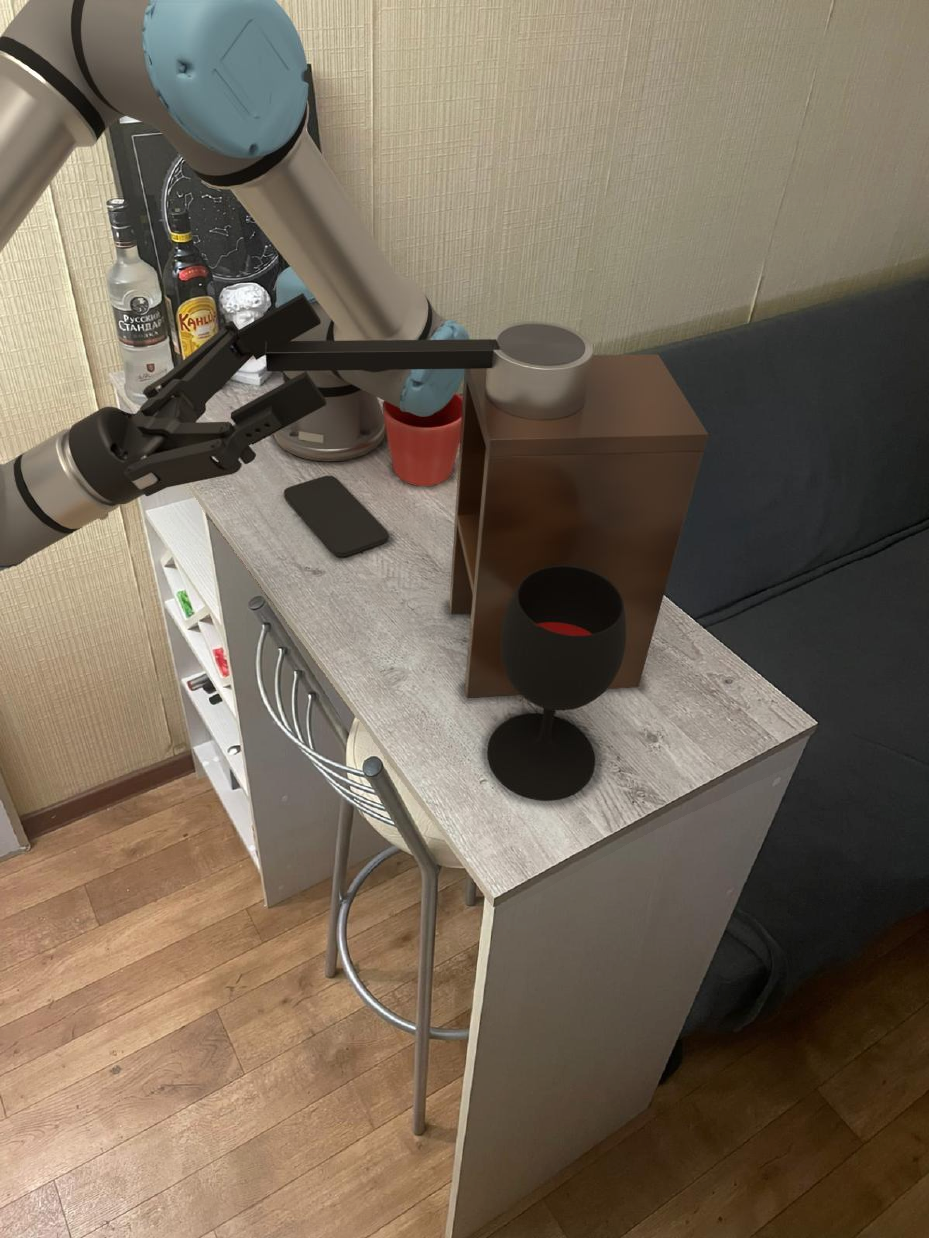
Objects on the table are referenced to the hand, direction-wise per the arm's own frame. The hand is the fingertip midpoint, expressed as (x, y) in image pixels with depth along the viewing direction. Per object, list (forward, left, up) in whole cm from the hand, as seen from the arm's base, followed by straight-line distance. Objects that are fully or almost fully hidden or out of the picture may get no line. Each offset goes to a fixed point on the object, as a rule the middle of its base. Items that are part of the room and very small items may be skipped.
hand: (314, 345), depth 71 cm
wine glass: (+15, +19, -35) cm, 42 cm away
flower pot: (-34, +13, -35) cm, 50 cm away
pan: (0, +9, -5) cm, 10 cm away
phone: (-24, +1, -35) cm, 42 cm away
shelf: (0, +22, -35) cm, 41 cm away
